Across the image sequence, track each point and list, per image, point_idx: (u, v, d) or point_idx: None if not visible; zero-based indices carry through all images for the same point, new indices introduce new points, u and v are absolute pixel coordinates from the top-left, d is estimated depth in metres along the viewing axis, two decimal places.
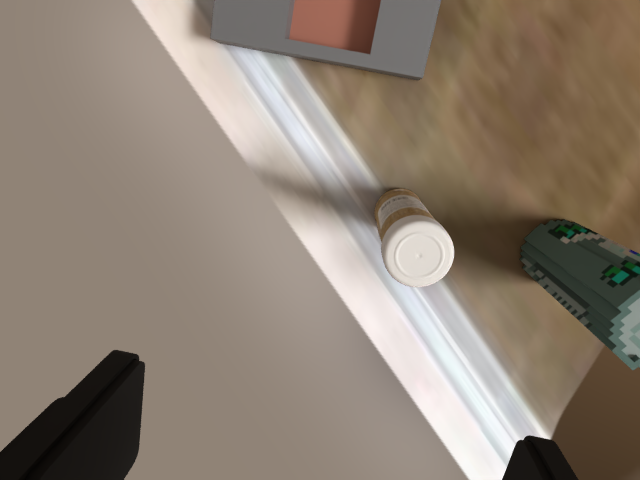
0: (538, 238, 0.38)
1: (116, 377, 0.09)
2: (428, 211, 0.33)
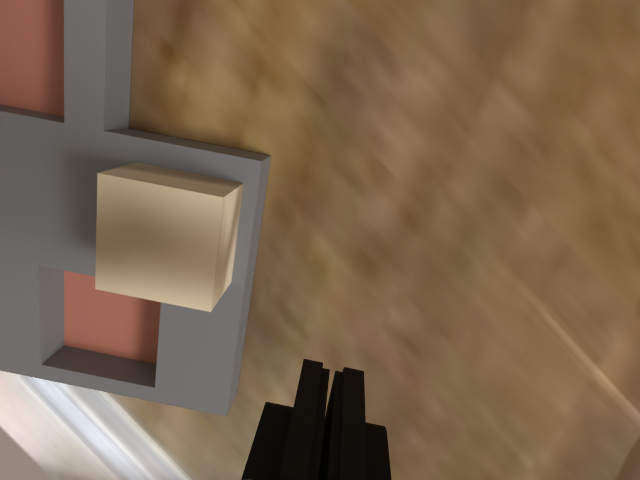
0: None
1: (320, 384, 0.10)
2: None
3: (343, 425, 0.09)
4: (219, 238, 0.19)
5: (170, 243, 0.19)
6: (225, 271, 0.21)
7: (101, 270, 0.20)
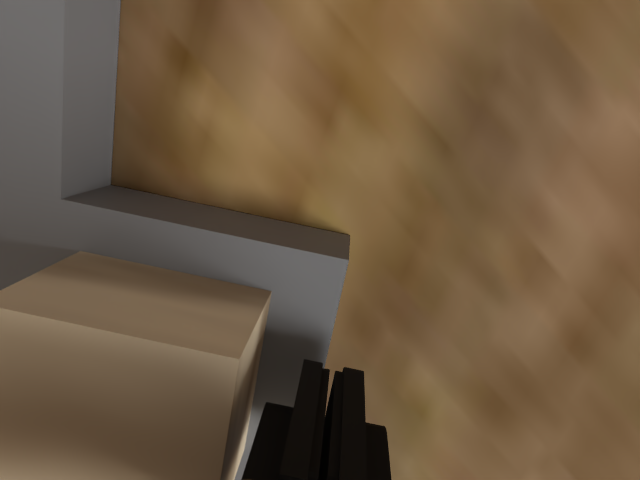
0: None
1: (320, 384, 0.10)
2: None
3: (343, 425, 0.09)
4: (228, 431, 0.09)
5: (128, 437, 0.09)
6: (236, 453, 0.12)
7: None
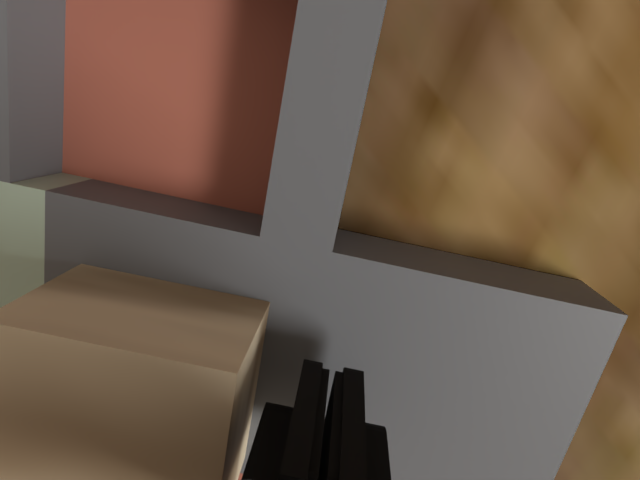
0: None
1: (320, 384, 0.10)
2: None
3: (343, 425, 0.09)
4: (227, 443, 0.09)
5: (129, 450, 0.10)
6: (236, 462, 0.12)
7: None
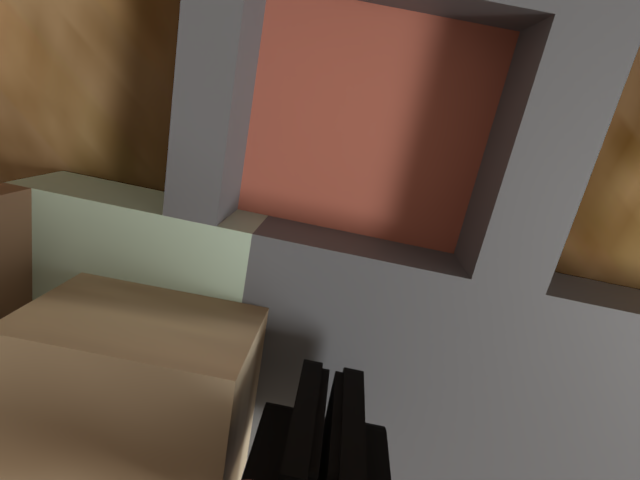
0: None
1: (320, 384, 0.10)
2: None
3: (343, 425, 0.09)
4: (227, 450, 0.10)
5: (130, 457, 0.10)
6: (237, 467, 0.12)
7: None
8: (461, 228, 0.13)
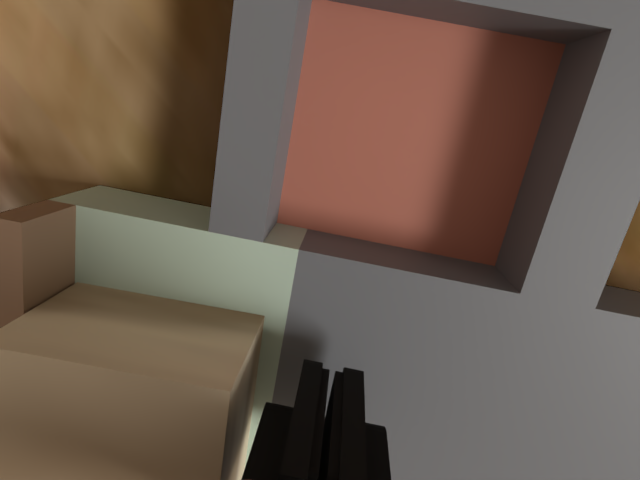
0: None
1: (320, 384, 0.10)
2: None
3: (343, 425, 0.09)
4: (223, 460, 0.10)
5: (126, 468, 0.10)
6: (235, 476, 0.12)
7: None
8: (502, 240, 0.13)
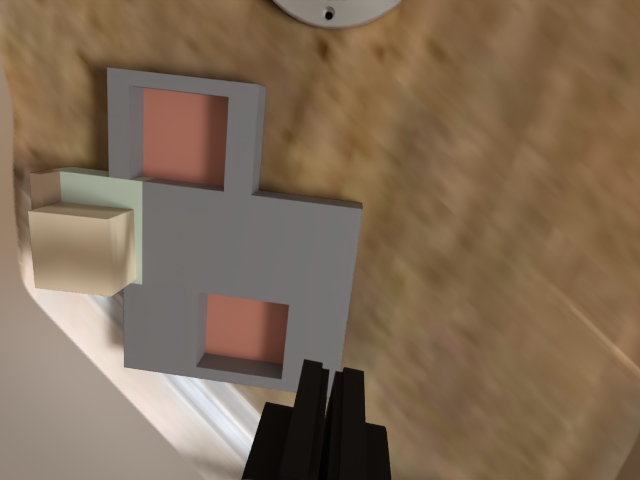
0: None
1: (320, 384, 0.10)
2: None
3: (343, 425, 0.09)
4: (109, 246, 0.29)
5: (78, 252, 0.29)
6: (125, 270, 0.31)
7: (37, 274, 0.30)
8: None
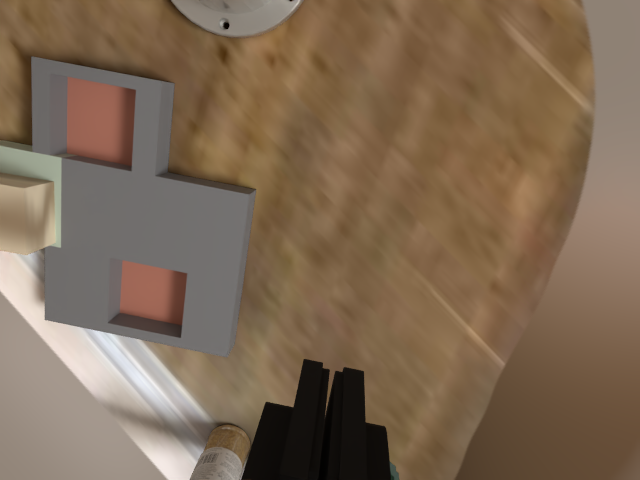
0: None
1: (320, 384, 0.10)
2: None
3: (343, 425, 0.09)
4: (25, 211, 0.34)
5: None
6: (43, 233, 0.36)
7: None
8: None
